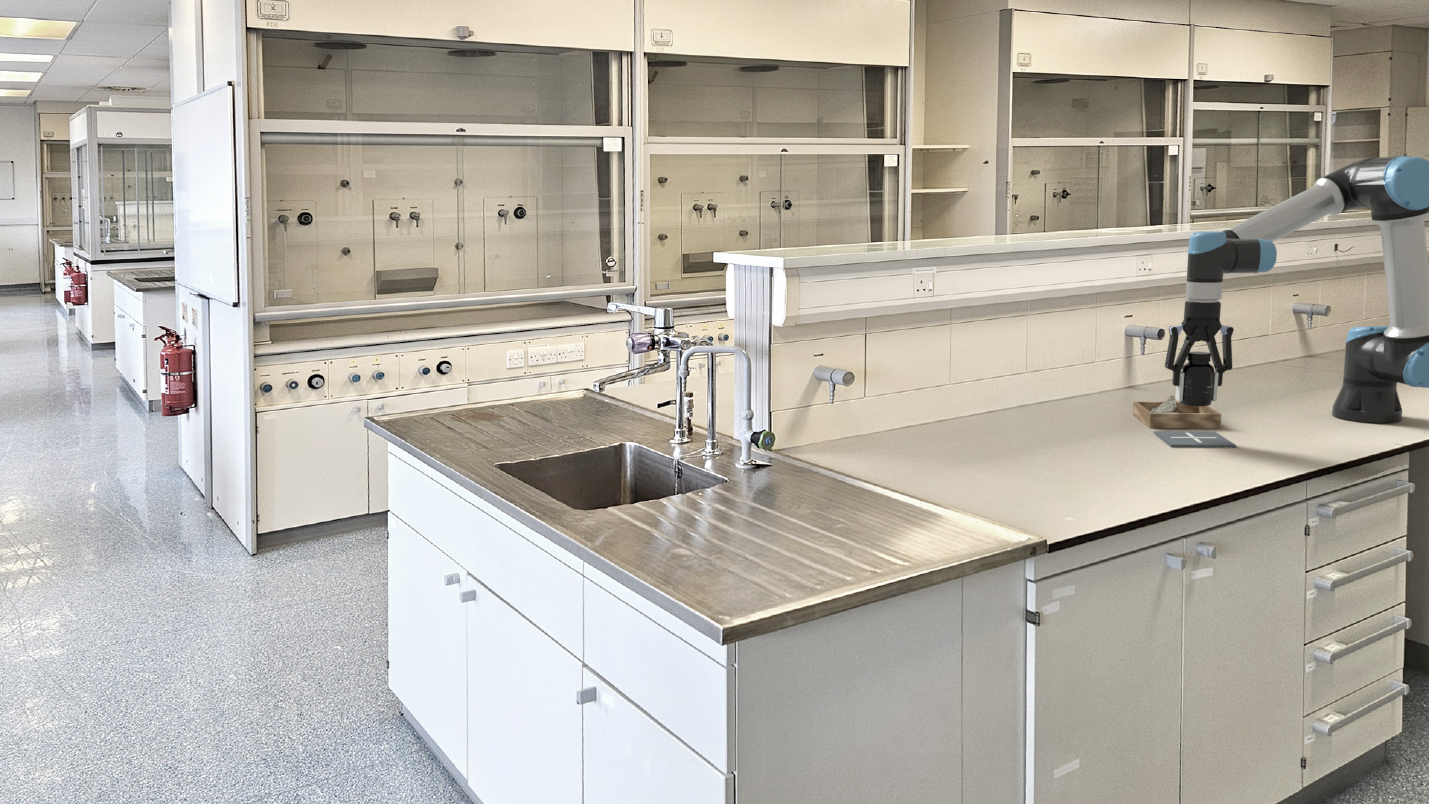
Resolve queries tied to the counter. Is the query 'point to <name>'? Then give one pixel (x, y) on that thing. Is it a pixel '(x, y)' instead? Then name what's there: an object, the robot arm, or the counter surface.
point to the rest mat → (1194, 439)
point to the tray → (1177, 416)
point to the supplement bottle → (1198, 380)
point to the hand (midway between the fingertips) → (1195, 399)
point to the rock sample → (1167, 406)
